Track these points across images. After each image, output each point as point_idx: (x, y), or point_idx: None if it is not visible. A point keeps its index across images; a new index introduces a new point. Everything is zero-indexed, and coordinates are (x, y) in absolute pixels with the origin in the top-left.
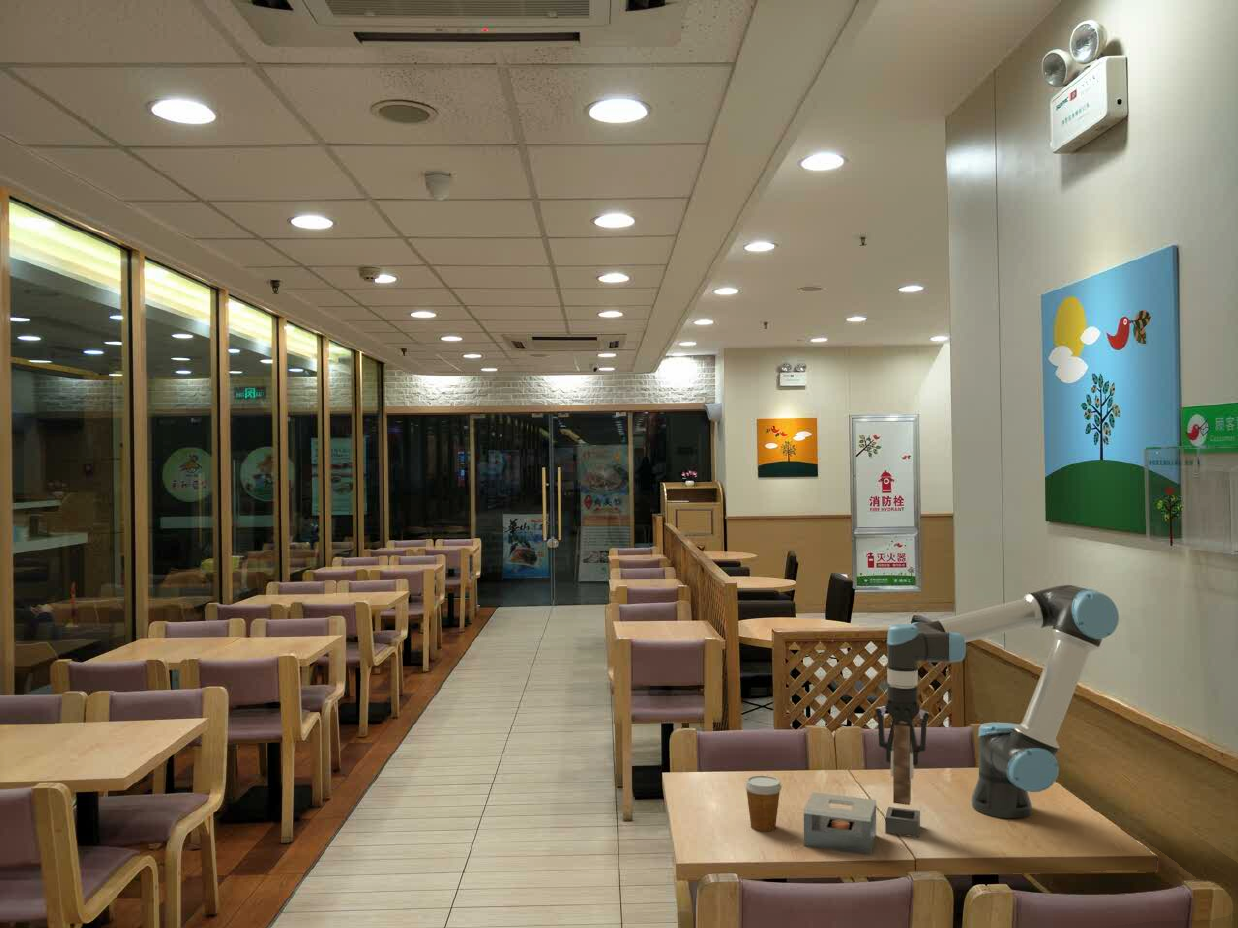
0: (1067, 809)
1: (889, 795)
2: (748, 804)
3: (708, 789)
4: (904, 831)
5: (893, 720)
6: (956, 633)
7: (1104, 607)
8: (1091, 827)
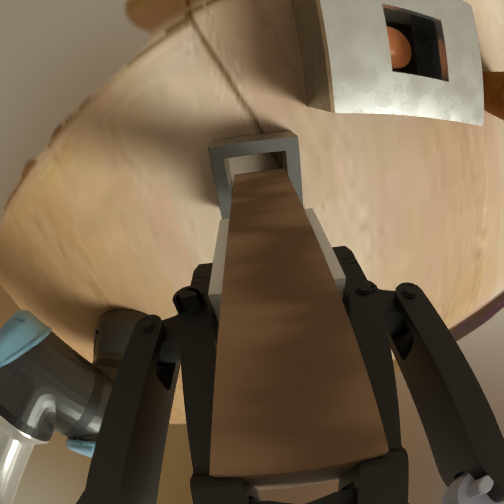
0: (84, 354)
1: None
2: None
3: None
4: (245, 137)
5: (395, 487)
6: None
7: None
8: (40, 315)
